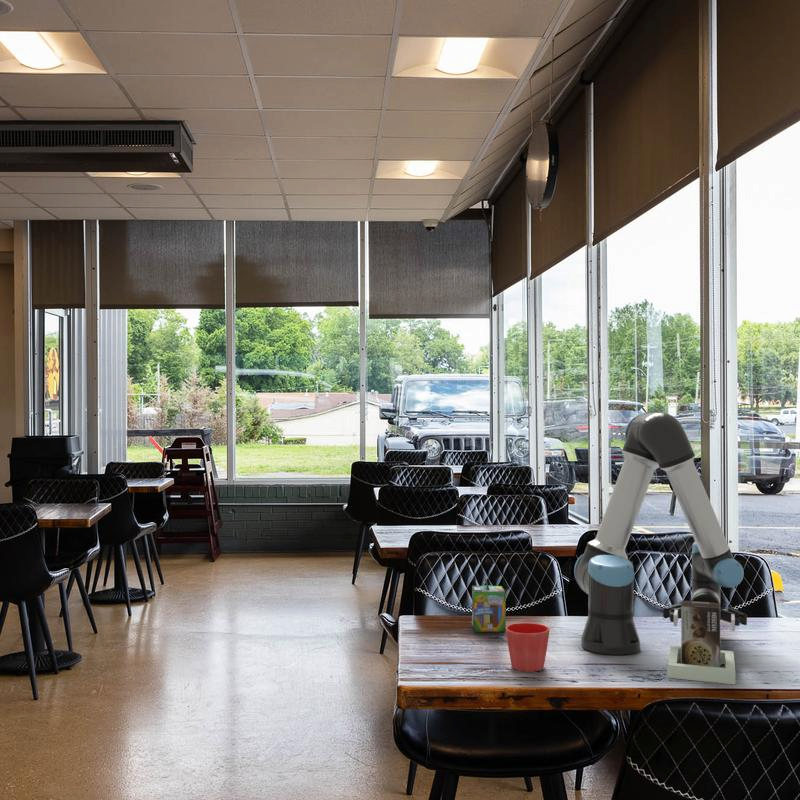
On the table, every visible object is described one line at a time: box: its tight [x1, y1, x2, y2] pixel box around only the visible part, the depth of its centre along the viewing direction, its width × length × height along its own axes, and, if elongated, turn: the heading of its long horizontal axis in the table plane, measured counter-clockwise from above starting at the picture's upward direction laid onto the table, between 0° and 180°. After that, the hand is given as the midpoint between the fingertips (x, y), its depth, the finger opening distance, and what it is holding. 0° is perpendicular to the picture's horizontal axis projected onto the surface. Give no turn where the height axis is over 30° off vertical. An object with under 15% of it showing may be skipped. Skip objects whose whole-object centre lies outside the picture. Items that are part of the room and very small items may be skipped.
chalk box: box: [471, 575, 507, 633], centre depth 257 cm, size 9×9×15 cm
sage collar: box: [666, 645, 736, 685], centre depth 217 cm, size 15×18×3 cm
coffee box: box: [680, 600, 722, 668], centre depth 218 cm, size 9×6×16 cm
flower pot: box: [505, 622, 551, 673], centre depth 219 cm, size 11×11×10 cm
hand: (703, 623), depth 222 cm, fingers open, 13 cm apart
